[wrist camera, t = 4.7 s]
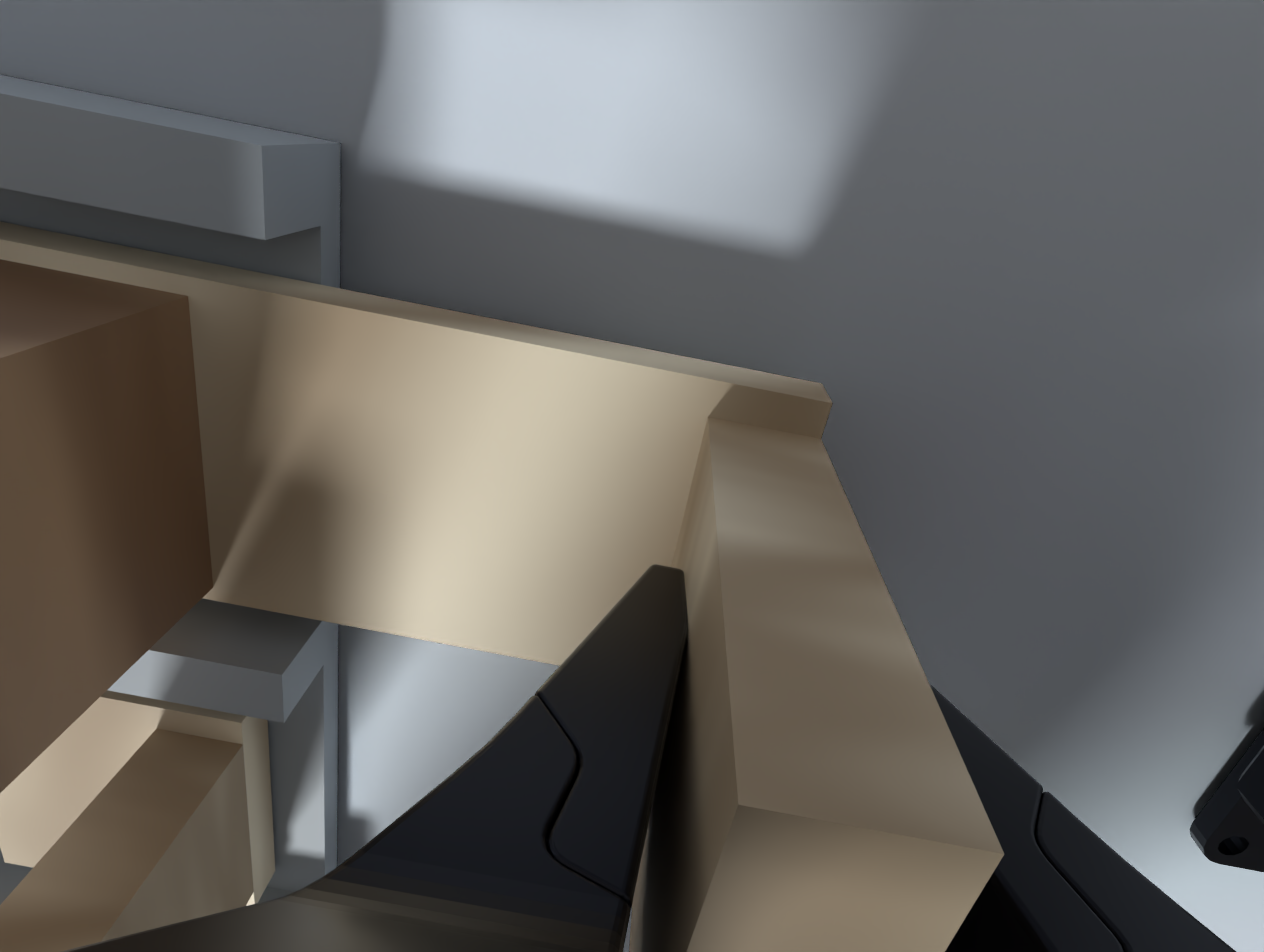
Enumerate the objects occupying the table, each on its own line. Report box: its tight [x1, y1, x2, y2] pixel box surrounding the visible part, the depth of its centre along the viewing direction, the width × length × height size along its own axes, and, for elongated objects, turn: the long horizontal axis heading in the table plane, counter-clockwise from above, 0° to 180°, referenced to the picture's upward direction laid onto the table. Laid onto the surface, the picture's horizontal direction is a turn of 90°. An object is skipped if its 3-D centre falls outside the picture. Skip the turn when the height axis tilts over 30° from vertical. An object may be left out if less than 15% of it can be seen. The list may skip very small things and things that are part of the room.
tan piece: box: [0, 222, 1004, 952], centre depth 8 cm, size 13×5×7 cm, turn 80°
